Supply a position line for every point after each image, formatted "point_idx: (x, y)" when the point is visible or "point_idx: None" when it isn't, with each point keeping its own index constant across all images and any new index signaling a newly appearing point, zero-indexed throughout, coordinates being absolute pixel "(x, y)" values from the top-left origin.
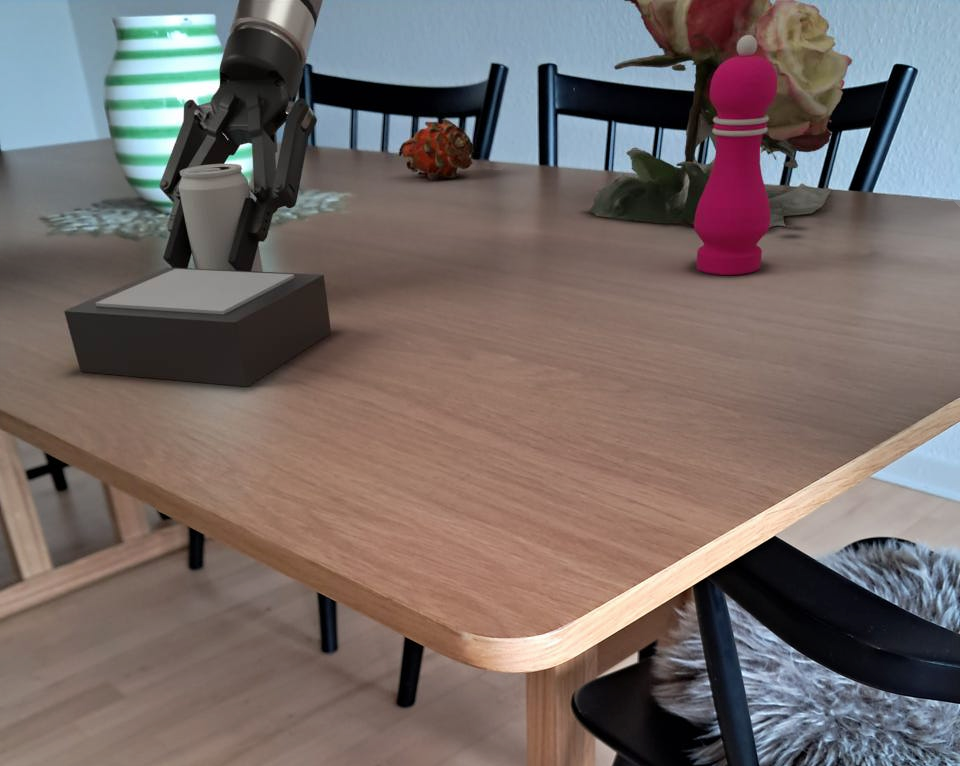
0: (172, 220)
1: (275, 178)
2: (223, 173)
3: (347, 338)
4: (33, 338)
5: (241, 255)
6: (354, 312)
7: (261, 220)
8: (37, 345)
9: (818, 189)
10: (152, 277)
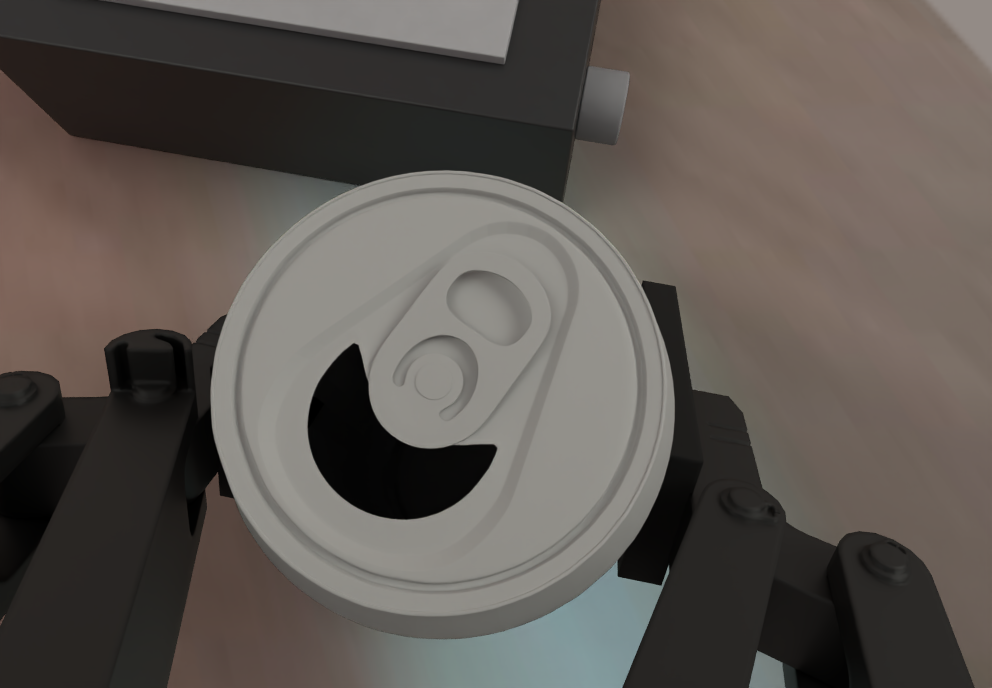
0: (722, 422)
1: (10, 436)
2: (290, 230)
3: (21, 99)
4: (931, 85)
5: None
6: (26, 329)
7: (201, 335)
8: (874, 32)
9: None
10: (558, 3)
